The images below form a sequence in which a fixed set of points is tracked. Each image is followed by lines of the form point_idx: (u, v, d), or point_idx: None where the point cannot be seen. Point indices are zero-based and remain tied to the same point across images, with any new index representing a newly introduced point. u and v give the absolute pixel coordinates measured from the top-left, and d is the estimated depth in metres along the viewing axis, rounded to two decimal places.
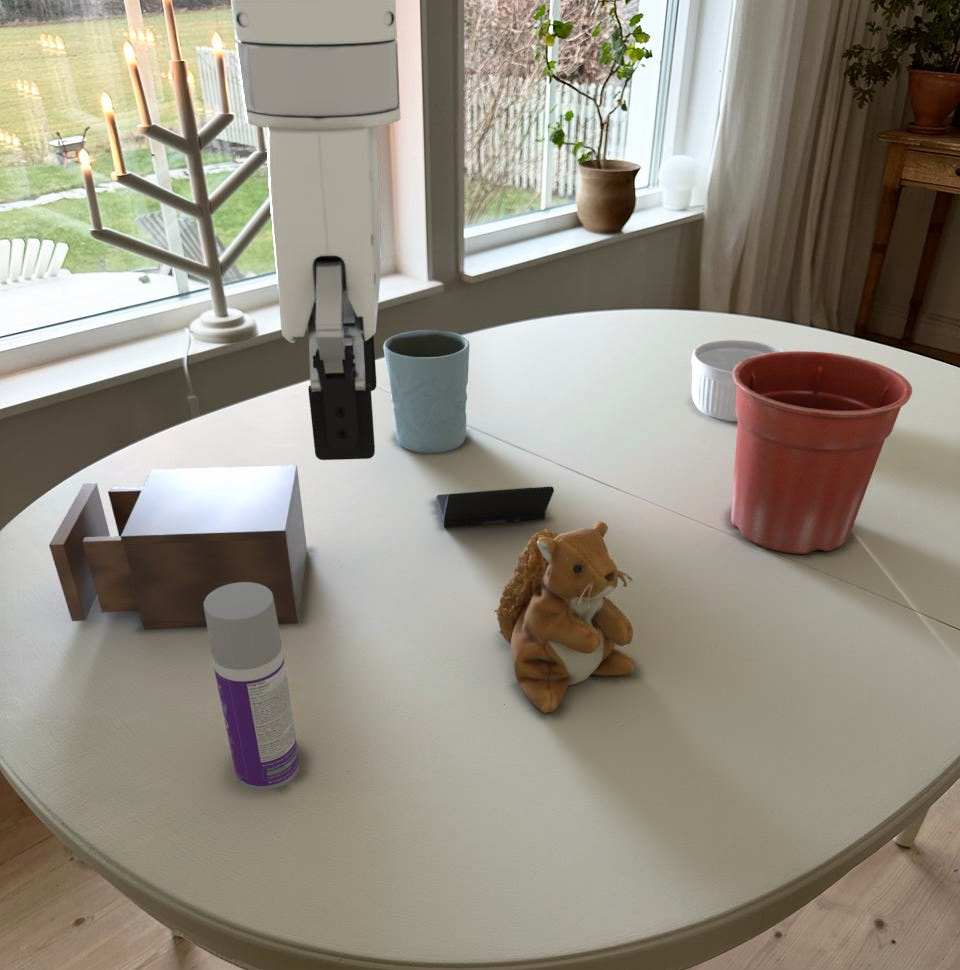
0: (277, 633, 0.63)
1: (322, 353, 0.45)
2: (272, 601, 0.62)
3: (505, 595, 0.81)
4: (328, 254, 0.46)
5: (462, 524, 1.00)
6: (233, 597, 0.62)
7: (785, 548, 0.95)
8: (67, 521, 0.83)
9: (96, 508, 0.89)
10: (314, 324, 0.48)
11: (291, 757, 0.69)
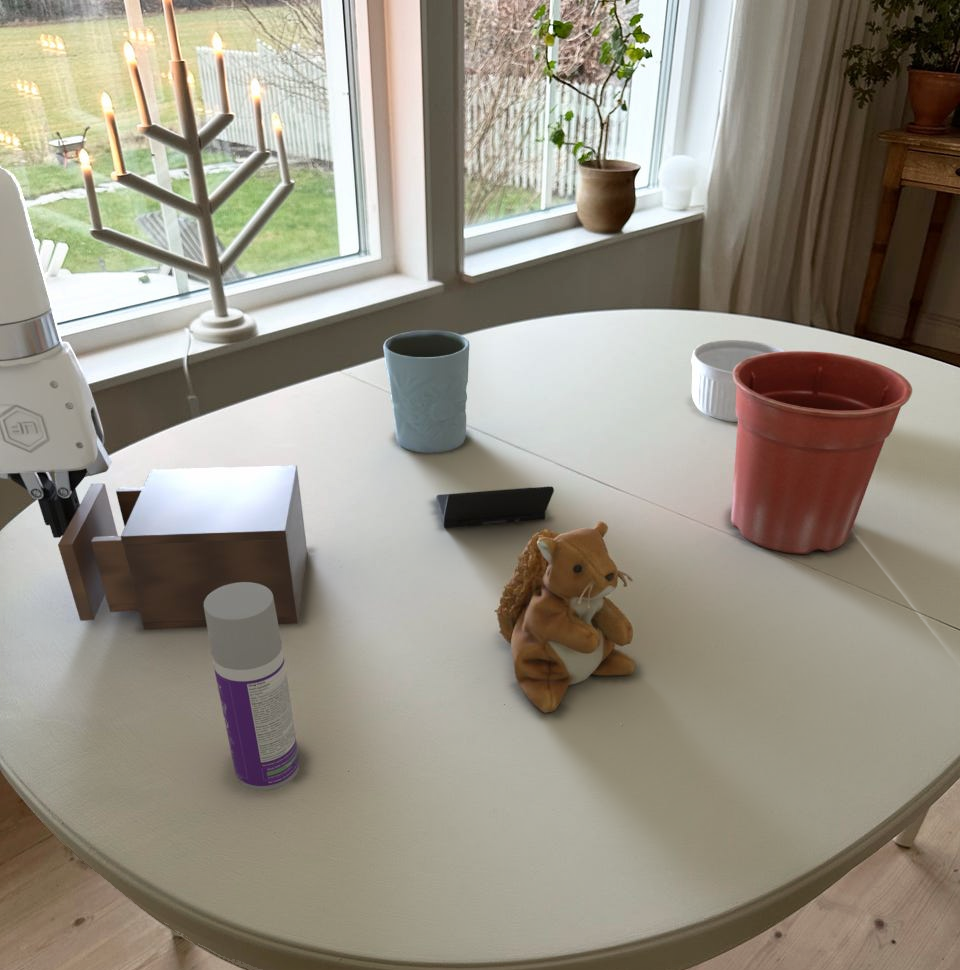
0: (277, 633, 0.63)
1: None
2: (272, 601, 0.62)
3: (505, 595, 0.81)
4: (91, 407, 0.82)
5: (462, 524, 1.00)
6: (233, 597, 0.62)
7: (785, 548, 0.95)
8: (76, 521, 0.83)
9: (104, 508, 0.89)
10: None
11: (291, 757, 0.69)
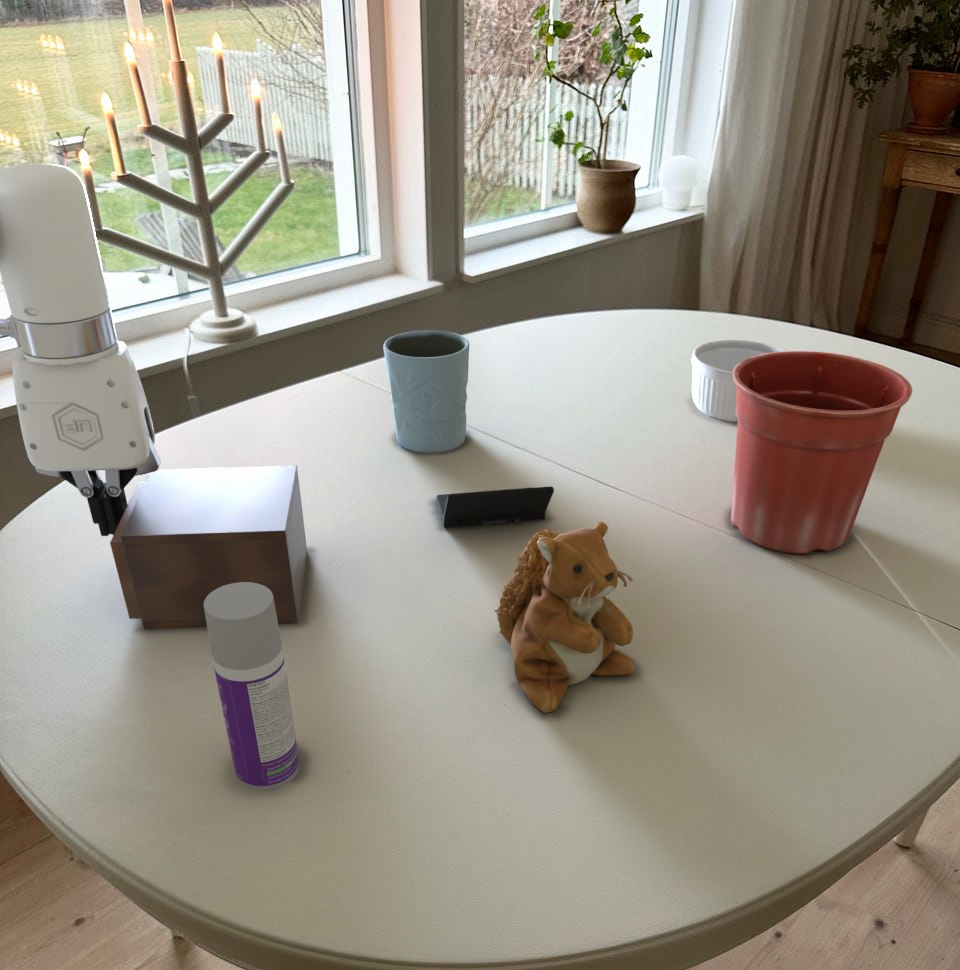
0: (277, 633, 0.63)
1: (144, 473, 0.86)
2: (272, 601, 0.62)
3: (505, 595, 0.81)
4: (145, 407, 0.83)
5: (462, 524, 1.00)
6: (233, 597, 0.62)
7: (785, 548, 0.95)
8: (126, 519, 0.83)
9: None
10: None
11: (291, 757, 0.69)
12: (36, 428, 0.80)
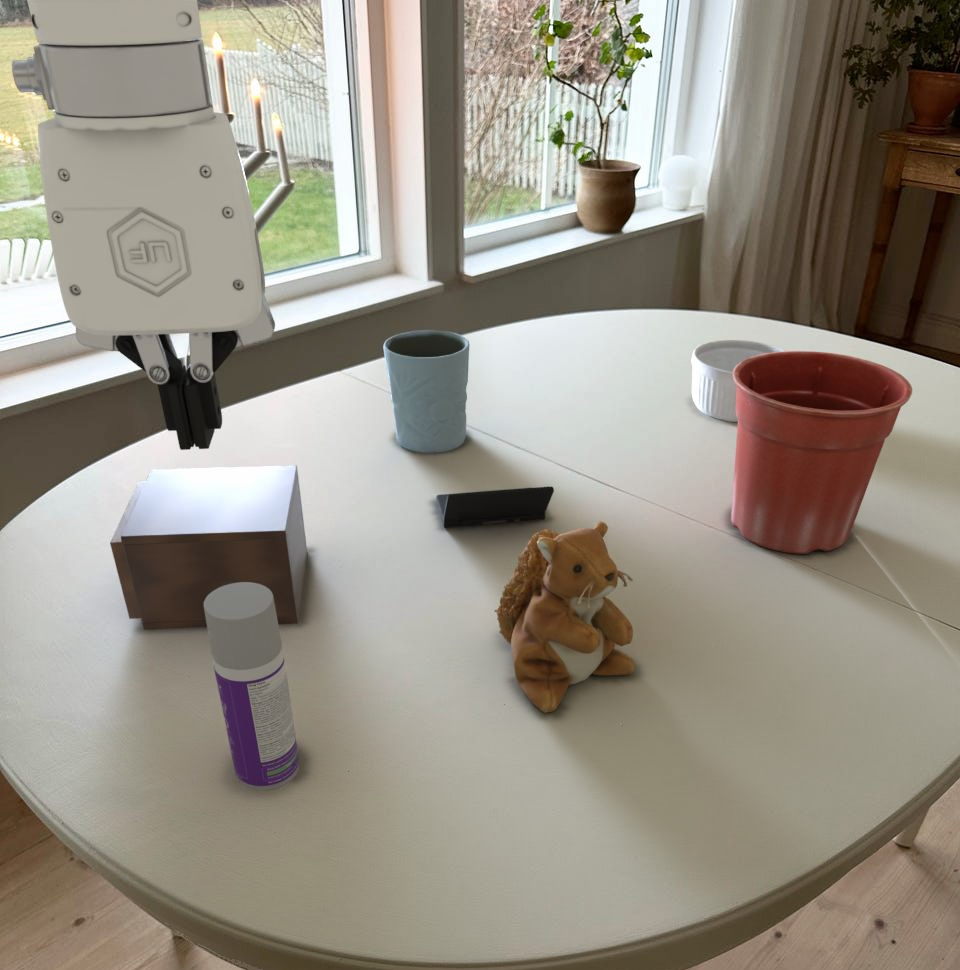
0: (277, 633, 0.63)
1: (251, 343, 0.53)
2: (272, 601, 0.62)
3: (505, 595, 0.81)
4: (255, 226, 0.50)
5: (462, 524, 1.00)
6: (233, 597, 0.62)
7: (785, 548, 0.95)
8: (126, 519, 0.83)
9: None
10: None
11: (291, 757, 0.69)
12: (80, 256, 0.48)
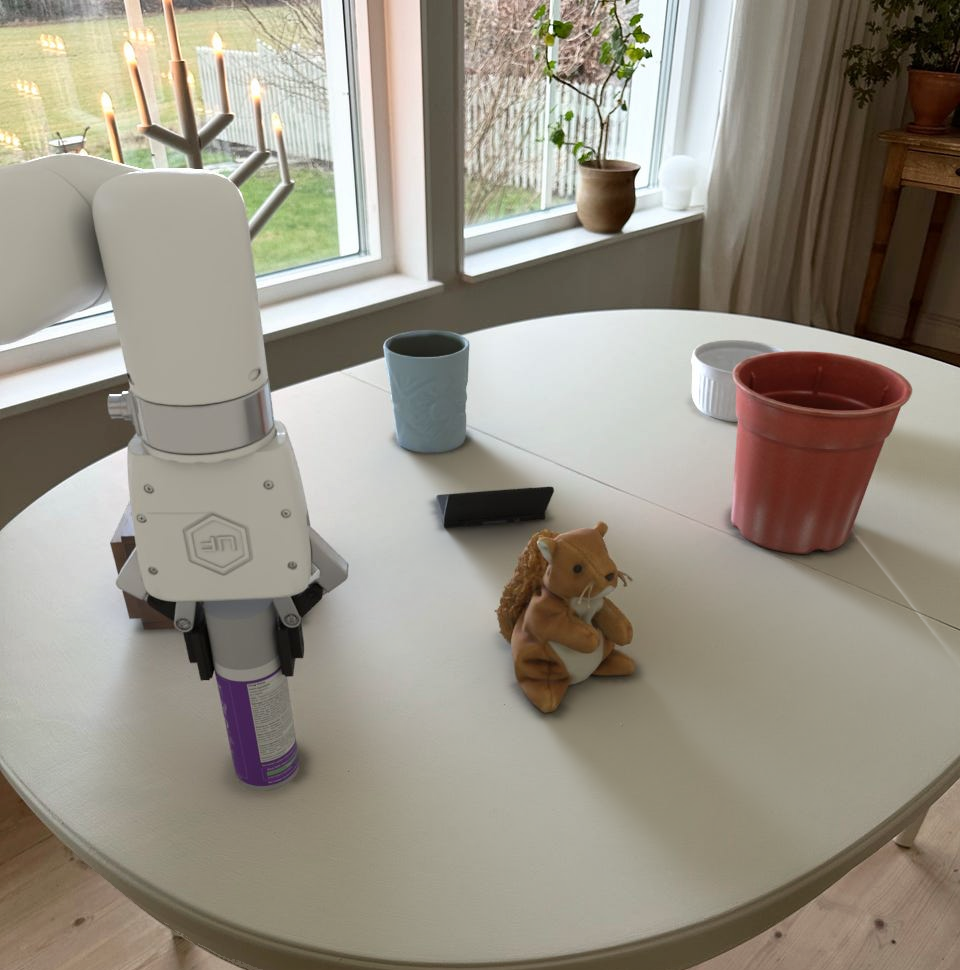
0: None
1: (333, 587, 0.61)
2: (272, 601, 0.62)
3: (505, 595, 0.81)
4: (306, 511, 0.58)
5: (462, 524, 1.00)
6: None
7: (785, 548, 0.95)
8: (126, 519, 0.83)
9: None
10: None
11: (291, 757, 0.69)
12: (158, 547, 0.56)
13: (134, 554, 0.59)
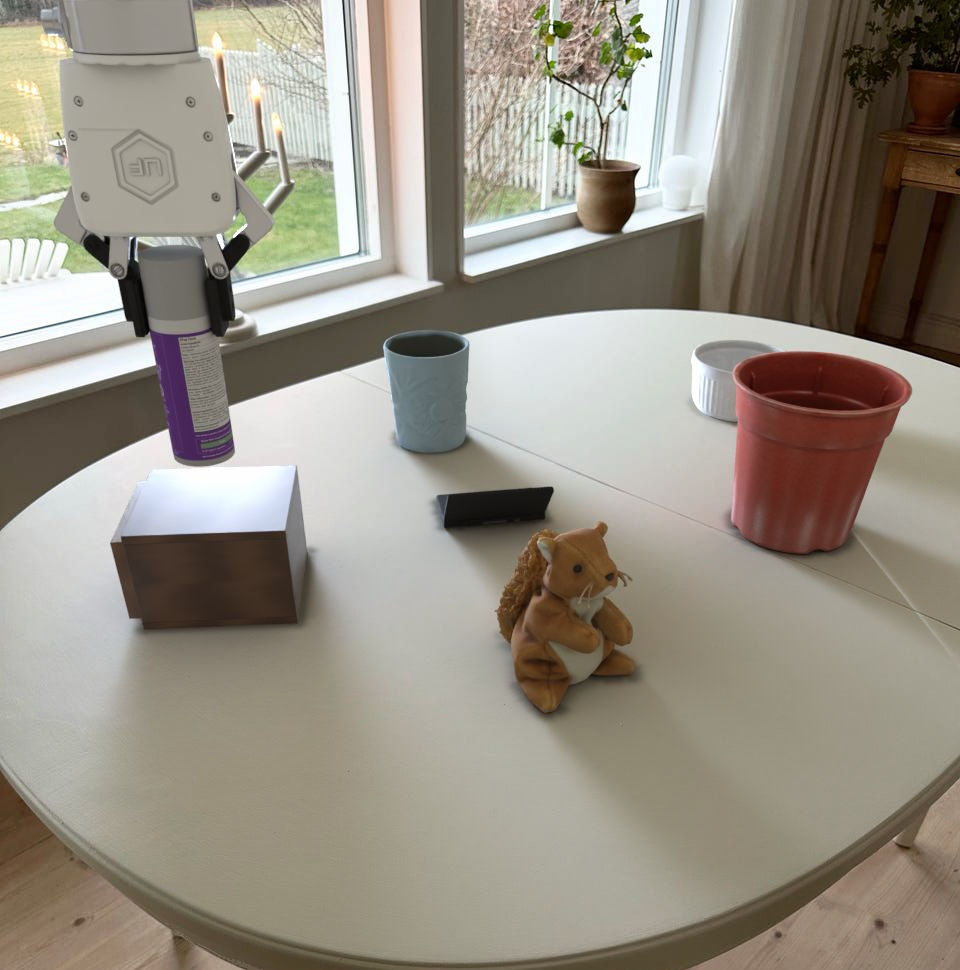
0: None
1: None
2: (202, 254, 0.66)
3: (505, 595, 0.81)
4: (231, 151, 0.62)
5: (462, 524, 1.00)
6: (166, 251, 0.66)
7: (785, 548, 0.95)
8: (126, 519, 0.83)
9: None
10: None
11: (225, 435, 0.73)
12: (89, 168, 0.60)
13: (70, 190, 0.63)
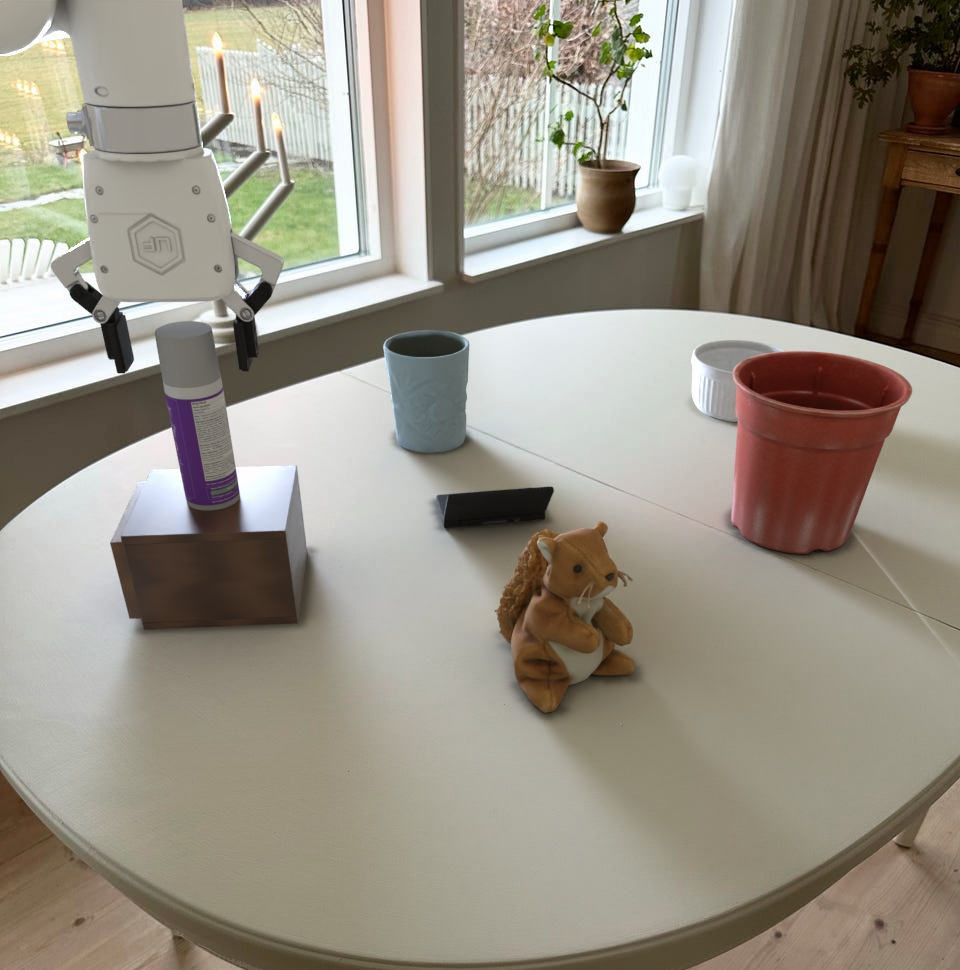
0: (215, 361, 0.77)
1: None
2: (210, 330, 0.76)
3: (505, 595, 0.81)
4: (230, 228, 0.72)
5: (462, 524, 1.00)
6: (179, 328, 0.76)
7: (785, 548, 0.95)
8: (126, 519, 0.83)
9: None
10: None
11: (231, 483, 0.83)
12: (108, 246, 0.69)
13: (78, 247, 0.71)
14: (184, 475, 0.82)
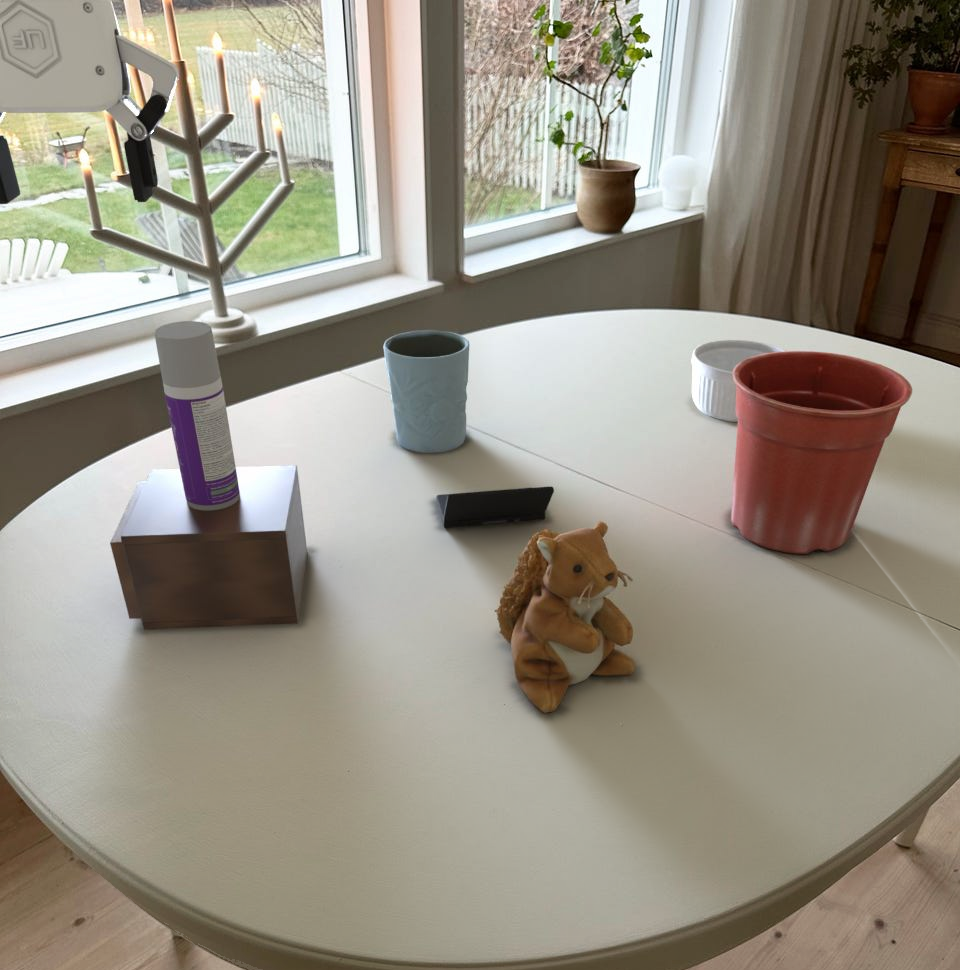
0: (215, 361, 0.77)
1: (171, 91, 0.66)
2: (210, 330, 0.76)
3: (505, 595, 0.81)
4: (115, 27, 0.64)
5: (462, 524, 1.00)
6: (178, 328, 0.76)
7: (785, 548, 0.95)
8: (126, 519, 0.83)
9: None
10: None
11: (231, 482, 0.83)
12: None
13: None
14: (184, 475, 0.82)
